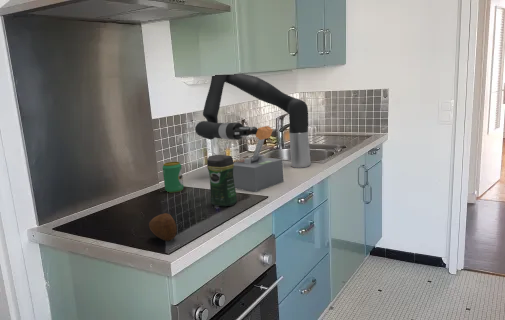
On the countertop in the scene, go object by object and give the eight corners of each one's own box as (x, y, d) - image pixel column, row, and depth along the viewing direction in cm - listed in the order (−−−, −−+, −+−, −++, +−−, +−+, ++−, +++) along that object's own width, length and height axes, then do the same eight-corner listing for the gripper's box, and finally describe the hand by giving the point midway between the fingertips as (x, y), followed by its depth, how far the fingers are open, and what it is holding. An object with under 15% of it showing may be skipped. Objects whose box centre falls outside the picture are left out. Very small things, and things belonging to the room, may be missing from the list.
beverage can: (181, 192, 179) (178, 164, 176) (163, 193, 179) (159, 165, 177) (185, 187, 187) (182, 160, 184) (168, 188, 187) (165, 162, 185)
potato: (166, 246, 121) (163, 220, 120) (145, 239, 127) (142, 214, 126) (185, 237, 127) (183, 212, 125) (165, 231, 133) (162, 207, 131)
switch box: (256, 177, 195) (254, 151, 192) (283, 181, 184) (281, 154, 181) (228, 187, 182) (226, 159, 179) (256, 191, 171) (253, 162, 169)
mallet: (256, 158, 184) (267, 125, 176) (260, 161, 182) (273, 129, 174) (246, 160, 180) (258, 127, 172) (251, 164, 178) (263, 131, 170)
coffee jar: (240, 202, 158) (236, 153, 154) (226, 208, 152) (222, 158, 148) (221, 199, 164) (217, 152, 160) (207, 205, 158) (202, 156, 154)
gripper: (219, 124, 181) (249, 124, 170) (240, 120, 191) (270, 120, 179) (221, 141, 183) (250, 143, 171) (242, 137, 192) (271, 138, 181)
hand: (260, 131), depth 175 cm, fingers closed
